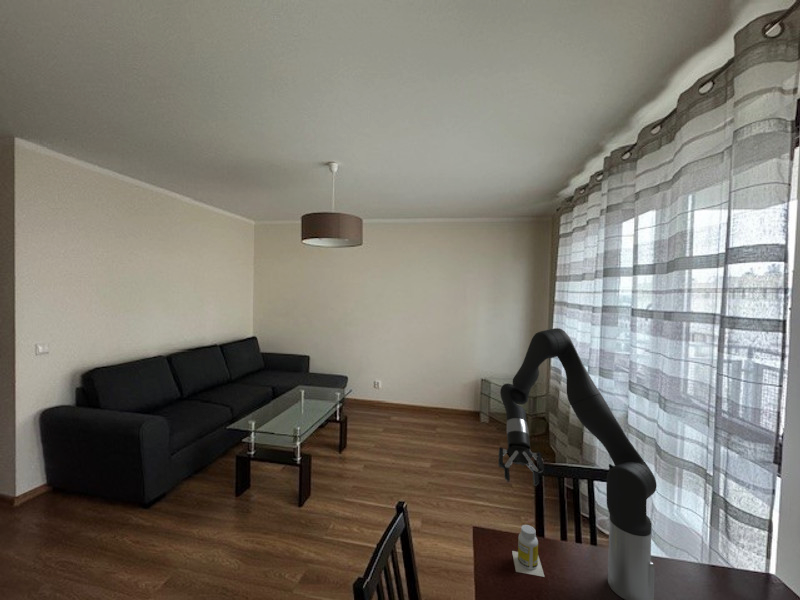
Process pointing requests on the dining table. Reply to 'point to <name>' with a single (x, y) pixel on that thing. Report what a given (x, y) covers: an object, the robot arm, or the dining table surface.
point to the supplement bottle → (528, 547)
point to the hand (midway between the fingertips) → (522, 483)
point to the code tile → (521, 569)
